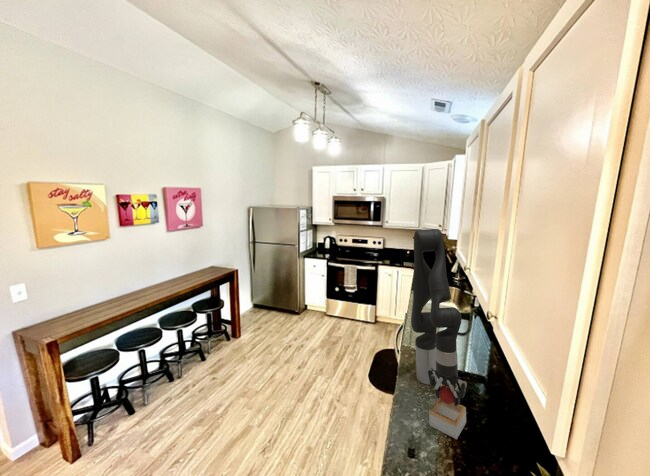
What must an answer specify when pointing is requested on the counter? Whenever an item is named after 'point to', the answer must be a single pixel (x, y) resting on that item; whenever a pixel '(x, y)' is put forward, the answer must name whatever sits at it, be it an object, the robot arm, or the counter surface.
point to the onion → (446, 395)
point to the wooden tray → (447, 418)
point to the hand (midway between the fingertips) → (447, 400)
